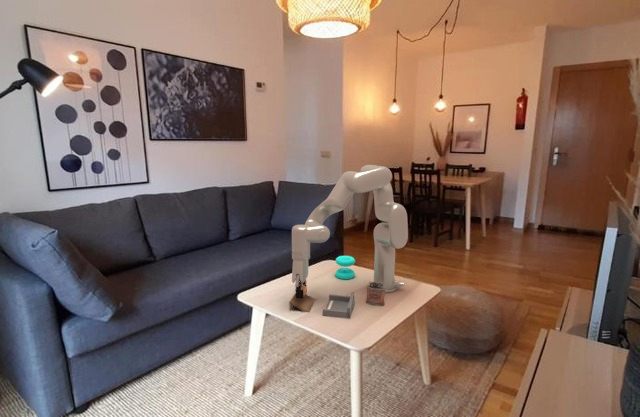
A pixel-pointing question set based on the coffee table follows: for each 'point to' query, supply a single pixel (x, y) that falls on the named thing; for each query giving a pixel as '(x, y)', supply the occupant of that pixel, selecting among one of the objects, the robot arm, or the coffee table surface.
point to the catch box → (339, 306)
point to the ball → (303, 289)
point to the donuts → (345, 261)
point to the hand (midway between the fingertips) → (301, 295)
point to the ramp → (302, 303)
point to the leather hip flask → (375, 293)
